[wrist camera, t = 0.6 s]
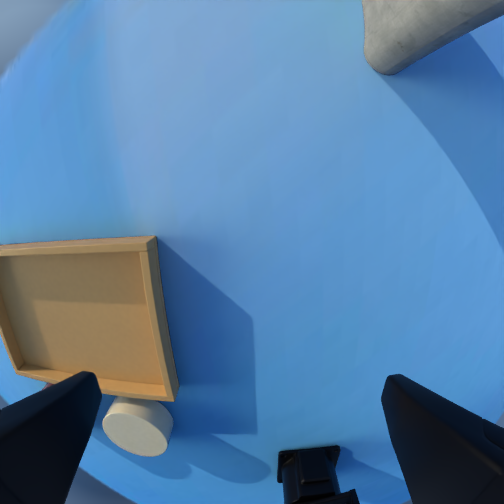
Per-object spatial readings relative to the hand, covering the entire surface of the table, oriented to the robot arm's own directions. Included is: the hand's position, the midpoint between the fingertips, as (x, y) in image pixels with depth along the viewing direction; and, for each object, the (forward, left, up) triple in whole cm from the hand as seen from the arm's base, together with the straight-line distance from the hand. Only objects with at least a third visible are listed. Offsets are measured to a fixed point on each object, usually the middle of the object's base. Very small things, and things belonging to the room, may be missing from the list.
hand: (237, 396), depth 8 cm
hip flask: (+21, -11, -14) cm, 28 cm away
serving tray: (-5, +15, -14) cm, 21 cm away
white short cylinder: (-16, +11, -14) cm, 23 cm away
